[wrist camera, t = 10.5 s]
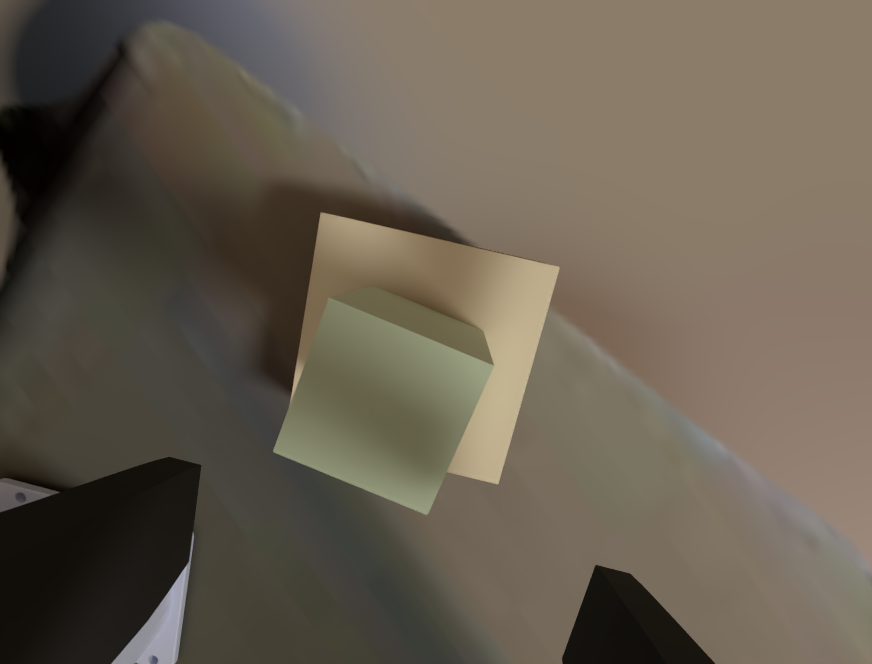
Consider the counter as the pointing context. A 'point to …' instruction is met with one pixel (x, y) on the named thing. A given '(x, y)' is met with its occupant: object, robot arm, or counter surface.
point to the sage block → (386, 395)
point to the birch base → (452, 296)
